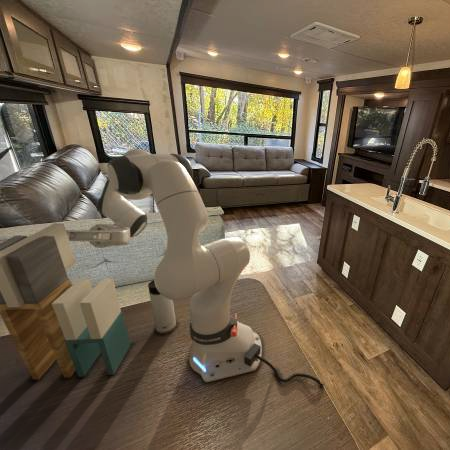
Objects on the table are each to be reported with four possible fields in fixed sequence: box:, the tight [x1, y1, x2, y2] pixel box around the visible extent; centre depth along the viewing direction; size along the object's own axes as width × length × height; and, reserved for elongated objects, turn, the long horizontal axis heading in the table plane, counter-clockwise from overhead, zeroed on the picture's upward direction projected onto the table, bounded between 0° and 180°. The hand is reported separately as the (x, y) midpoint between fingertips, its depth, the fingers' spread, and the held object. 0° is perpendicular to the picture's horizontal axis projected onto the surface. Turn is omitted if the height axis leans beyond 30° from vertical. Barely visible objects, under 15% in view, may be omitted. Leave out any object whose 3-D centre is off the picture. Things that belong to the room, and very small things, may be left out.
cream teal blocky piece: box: [52, 277, 132, 377], centre depth 69 cm, size 9×10×26 cm
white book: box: [0, 222, 77, 307], centre depth 63 cm, size 2×19×13 cm, turn 8°
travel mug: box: [147, 279, 177, 335], centre depth 83 cm, size 6×7×20 cm
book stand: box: [0, 235, 76, 380], centre depth 65 cm, size 9×10×39 cm
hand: (78, 236), depth 77 cm, fingers open, 8 cm apart
